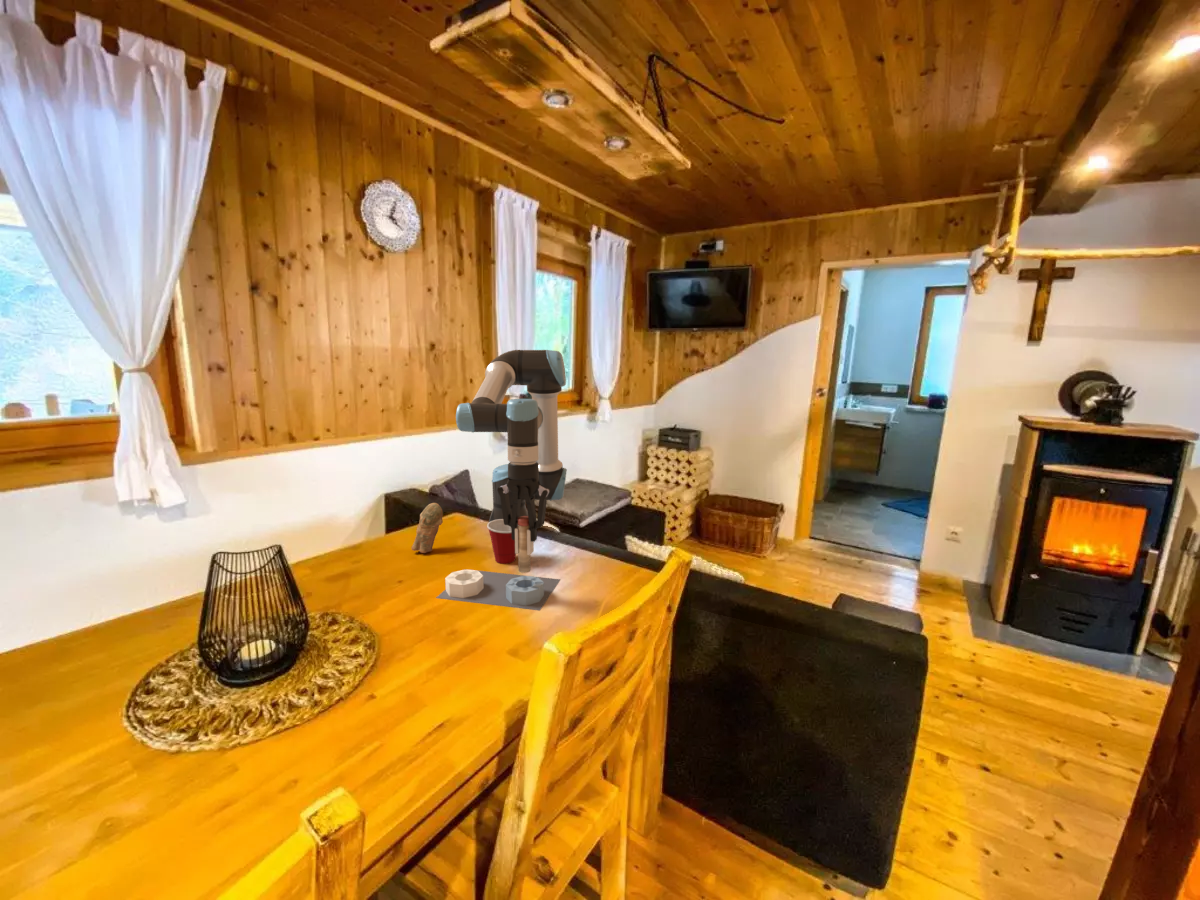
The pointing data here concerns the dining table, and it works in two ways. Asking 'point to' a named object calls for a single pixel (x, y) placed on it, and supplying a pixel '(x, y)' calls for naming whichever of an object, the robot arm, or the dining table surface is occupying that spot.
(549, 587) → the felt mat
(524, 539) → the dowel
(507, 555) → the plastic cup
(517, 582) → the bead blue
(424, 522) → the figurine
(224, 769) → the dining table surface
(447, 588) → the bead white
